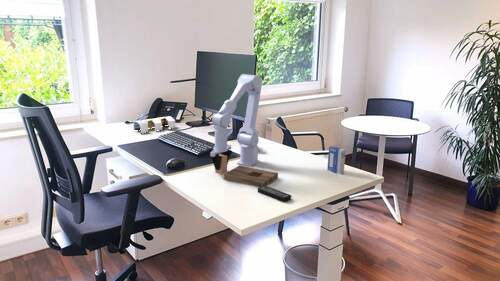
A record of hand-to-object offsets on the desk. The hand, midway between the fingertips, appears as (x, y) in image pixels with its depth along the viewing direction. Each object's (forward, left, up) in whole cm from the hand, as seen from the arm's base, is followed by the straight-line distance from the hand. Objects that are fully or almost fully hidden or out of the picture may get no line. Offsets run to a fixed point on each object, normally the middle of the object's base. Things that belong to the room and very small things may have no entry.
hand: (221, 167), depth 180 cm
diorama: (-45, -82, -3) cm, 93 cm away
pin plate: (0, +16, -2) cm, 16 cm away
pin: (0, 0, -2) cm, 2 cm away
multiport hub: (+12, +33, -3) cm, 35 cm away
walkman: (-29, +46, -3) cm, 54 cm away
